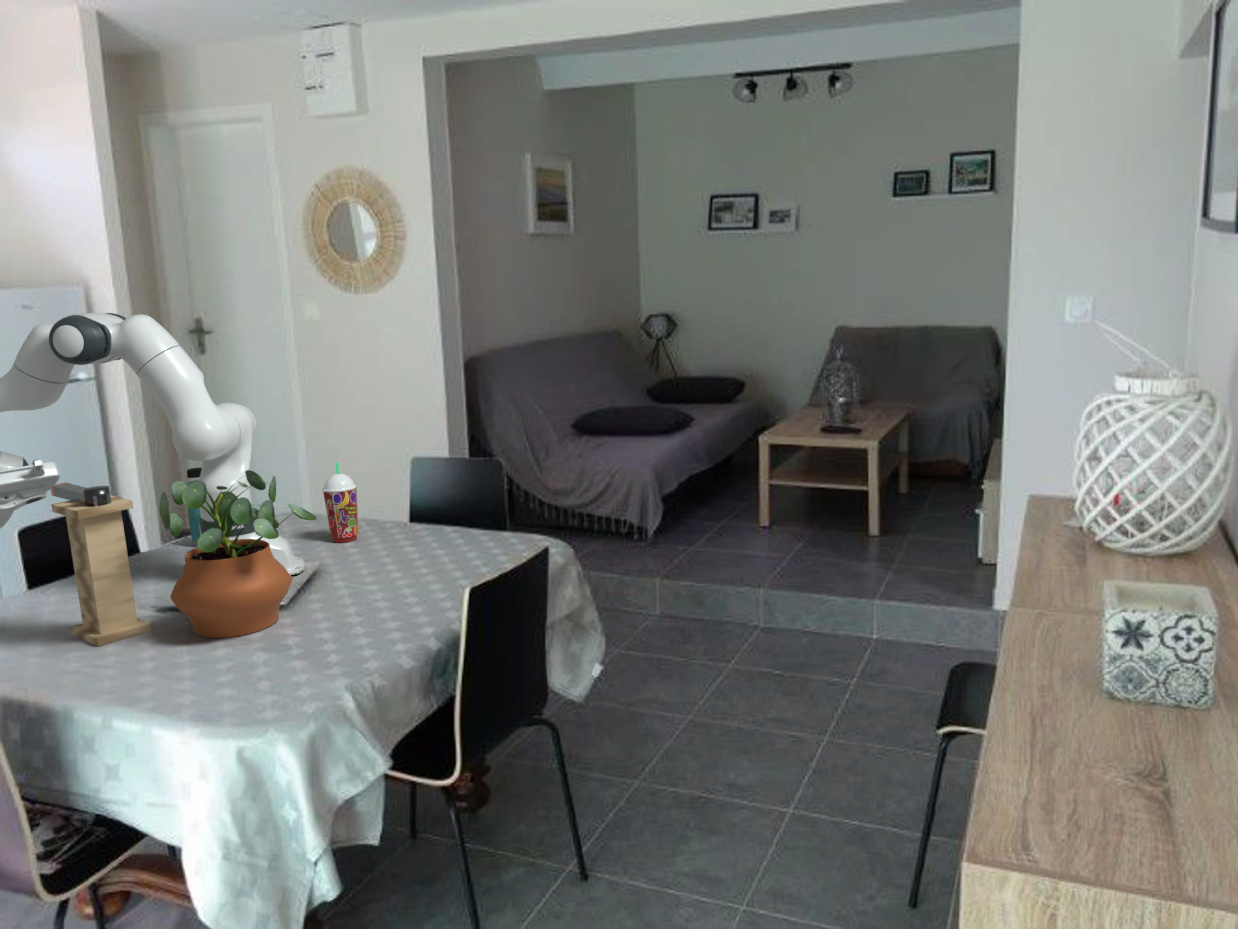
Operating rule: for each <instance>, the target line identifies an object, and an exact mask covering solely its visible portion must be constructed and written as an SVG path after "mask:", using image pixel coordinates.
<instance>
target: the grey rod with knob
mask: <svg viewBox="0 0 1238 929" xmlns="http://www.w3.org/2000/svg"><path fill="white" fill-rule="evenodd" d="M50 487H51V490H50V493H51V496H52V497H56V498H60V499H63V500H66V501H70V500H71V501H75V502H78V503H82V504H85V506H87V507H96V506H102V505H107V504H111V496H110V495H111V490H110V486H109V485H97V486H91V487H86V486H81V485H77V484H73V483H70V482H66V481H65V482H61V483H56V484H54V485H50Z"/></svg>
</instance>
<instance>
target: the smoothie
mask: <svg viewBox="0 0 1238 929" xmlns="http://www.w3.org/2000/svg"><path fill="white" fill-rule="evenodd" d="M335 468H336V473H334V474H332V475H330V476H329V477H328V478H327V479H326V481H325V482H324V486H323V488H322V492H323V498H324V505H325V510H326V515H327V521H328V526H329V531H330V534H329V535H330V537H331V539H332V540H333V542H335V543H339V544H342V543H350V542H354V541H356V540H357V538H358V535H359V519H358V518H359V515H358V513H359V512H358V496H357V495H358V494H357V493H358V492H357V484H355V482H354V479H352V477H350V476H349V475H348V474H345V473H341V472H340V467H339V462H335Z"/></svg>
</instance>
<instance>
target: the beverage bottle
mask: <svg viewBox="0 0 1238 929" xmlns="http://www.w3.org/2000/svg"><path fill="white" fill-rule="evenodd" d="M201 470H202V467H193V468H188V469H186V477H187V478H189V479H196V478H199V477H200V474H201ZM198 480H199V479H198ZM198 480H197V479H196V480H191V481H188V482H187V483H185V484H186V485H187V484H190V483H192V482H195V481H198ZM187 486H188V485H187ZM186 508H187V512H186V513H187V519H188V520H187V521H188V526H189V529H188V530H189V533H190V539H191V541H192V542H196V543H197V542H198V539H199V538H200V536H201V535H200V528H199V524H200V523H199V522H198V521H200V518H201V515H200V508H199V509H190V508H188V507H186ZM188 512H190V513H192V514H190V513H188ZM193 514H194V515H193ZM195 515H196V516H198V517H200V518H198V517H196V516H195ZM189 516H190V517H189ZM191 517H192V518H191ZM193 518H194V519H193ZM195 519H196V520H195ZM197 520H198V521H197Z"/></svg>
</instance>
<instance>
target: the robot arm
mask: <svg viewBox="0 0 1238 929" xmlns="http://www.w3.org/2000/svg"><path fill="white" fill-rule="evenodd" d="M119 360H122V361H124V362H125V363H126V364H127V365H128V366H129V367H130V368H131V370H132V371H133V372H134V373H135V375H136V376H137V377H138V378H139V380H140V381H141V382H142V383H143V385H144V386H145V387H146V388H147V390H148V391H149V392H150V393H151V394H152V395H153V397H154V398H155V400H156V401H157V402H158V404H159V405H160V407H161V409H162V410H163V412H164V414H165V417H166V418H167V420H168V423H169V425H170V427H171V432H172V435H171V436H172V437H171V440H172V445H173V446H174V449H175V450H176V452H177V453H178V454H179V455H180V456H181V457H183V458H185V459H187V460H190V461H196V462H197V461H199V462H202V464H201V468H202V470H201V474H200V477H198V481H202V482H204V483H205V485H206V488H207V492H208V493H209V494H210V495H211V497H212V498H213V500H214V502H215V500H216V498H217V496H218V495H219V494H220V491H221V492H224V491H228V489H229V488H230V487H231V486H232V485H233V484H234V483H235V482H236V481H237V480H238V481H239V482H242V483H244V484H246V485H247V486H248V487H242V486H241V485H240V484H239V483H238V481H237V482H236V483H235V484H234V485H233V486H232V487H231V489H230V490H229V491H228V492H230V491H232V490H233V489H235V488H236V487H237V486H238V487H237V488H236V489H235V490H233V491H232V493H233V494H235V495H236V496H238V495H239V494H240V493H242V492H243V491H244V490H245V491H244V492H243V493H242V494H241V495H240V496H239V497H238V499H239V498H242V497H245V498H247V499H248V500H249V501H250V503H251V505H252V506H253V502H252V491H251V487H250V486H251V485H250V484H249V482H248V481H247V478H246V474H245V472H246V470H251V460H252V459H251V456H252V449H253V440H254V437H255V435H256V432H257V427H258V426H257V419H256V416H255V415H254V413H253V412H252V411H251V409H249V408H248V407H247V406H245V405H242V404H240V403H234V402H222V403H218V404H215V402H213V399H212V398H211V396H210V394H209V392H208V390H207V387H206V384H205V376H204V373H203V372H202V371H201V370H200V368H199V367H198V366H197V364H196V363H195V362H194V361H193V359H192V358H191V357H190V355H189V354H188V353H187V352H186V351H185V349H184V348H183V347H182V346H181V344H180V343H178V341H177V340H176V339H175V338H174V337H173V335H171V333H170V332H169V331H167V329H165V328H164V327H163V326H162V325H161V324H160V323H159V322H157V321H156V320H155V319H154V318H153V317H152V316H149V315H147V314H143V313H142V314H141V313H140V314H135V315H131V316H128V317H126V316H123V315H121V314H118V313H113V312H106V313H105V312H103V313H101V312H100V313H99V312H97V313H96V312H86V313H80V314H73V315H72V314H71V315H68V316H65V317H63V318H61V319H59V320H57V321H56V322H55V323H50V322H48V323H46V322H45V323H40V324H38V325H36V326H34V327H33V328H32V329H31V331H30V332H29V334H28V335H27V337H26V338H25V340H24V342H23V343H22V345H21V346H20V348H19V351H18V352H17V354H16V357H15V359H14V361H13V364H12V366H11V368H10V369H9V370H8V371H7V372H6V373H5V374H4V375H2V376H1V377H0V413H3V412H10V411H13V412H14V411H36V410H41V409H45V408H47V407H50V406H51V405H53V404H55V403H56V402H57V401H58V400H59V399H60V398H61V396H62V394H64V393H63V392H64V390H65V389H66V387H67V384H68V381H69V379H70V376H71V374H72V371H73V369H74V367H75V365H76V366H78V365H79V366H85V365H91V364H92V365H93V364H96V365H100V364H106V363H111V362H114V361H119ZM243 476H244V477H243ZM241 477H242V478H241ZM60 478H61V472H60V468H59V466H58V464H57V462H54V461H48V462H43V460H42V459H35V460H32V462H31V464H30V465H29V463H28V462H27V460H26V458H24V456H20V455H17V454H13V453H9V452H6V451H3V450H0V530H1V529H2V528H3V527H4V526H5V525H7V523H8V522H9V521H10V519H11V517H12V515H13V514H14V512H15V511H16V510H19V509H20V508H22V507H24V506H26V505H29V504H32V503H36V502H39V501H41V500H44V499H45V498H47V496H48V493H47V492H49V491H51V487H50V485H54V484H58V482H59V480H60ZM240 478H241V479H240ZM217 486H224V487H227V489H225V490H218V489H217V488H216V487H217ZM249 487H250V488H249ZM247 488H248V489H247ZM246 489H247V490H246ZM206 500H207V502H208V503H209V504H210V505H211V507H212V508H213V505H212V502H211V500H210V497H209V495H208V494H207V497H206ZM203 506H204V507H206V508H207V509H208V510H209V511H210V509H209V507H208V505H207V504H206V502H205V503H204V504H203ZM210 512H211V511H210ZM200 515H201V518H202V519H204V520H206V521H207V522H209V523H210V524H211V525H212V526H214V527H215V528H217V525H216V523H215V521H214V520H213V518H212V517H211V516H210V515H209V514H208V513H207V512H206V510H205V509H203V508H202V507H200ZM255 520H257V519H256V518H253V517H252V518H251V521H250V522H249V523H248V524H247V525H246V524H240V525H239V527H238V528H237V529H236V530H235V531H234V532H233V533H232V534H231V535H230V536H229V539H230V540H235V538H236V537H237V535H238V534H239V532H240V531H241V530H242V529H243V528H244V526H245V525H246V526H245V528H244V529H243V530H242V532H241V533H240V535H239V537H238V539H258V538H260V537H261V536H259V535H257V534H256V533H255V529H254V526H253V523H254V521H255ZM200 522H201V523H200ZM200 522H199V523H200V524H199V528H200V535H202V534H203V533H204V532H206V531H207V530H209V529H208V528H207V527H206V526H208V527H209V528H210V529H212V528H211V527H210V526H209V525H208V524H207V523H205V522H204V521H203V520H201V519H200ZM202 523H203V524H205V525H206V526H204V525H203V524H202ZM229 526H230V525H227V529H228V528H229ZM237 526H238V523H236V522H234V524H233V526H232V528H231V531H232V530H233V529H235V528H236V527H237ZM217 529H218V528H217ZM231 531H230V532H231ZM261 540H264V541H266V542H268V543H269V545H270V550H271V552H272V554H273V557H274V558H275V559H276V560H277V561H278V562H279V563H280V564H281V565H283V566H284V567H285V569H286V570H287V571H288V573H289V574H292V573H295V572H299V570H301V569H302V568H303V567H304V565H305V566H306V563H305V560H304V559H303V558H300V557H298V556H295V554H294V550H293V548H292V546H291V544H290V542H289V541H288V539H287V538H285V537H283V536H281V535H279V536H278V538H275V539H267V538H264V537H263V538H261ZM296 567H302V568H300V569H295V568H296Z"/></svg>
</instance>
